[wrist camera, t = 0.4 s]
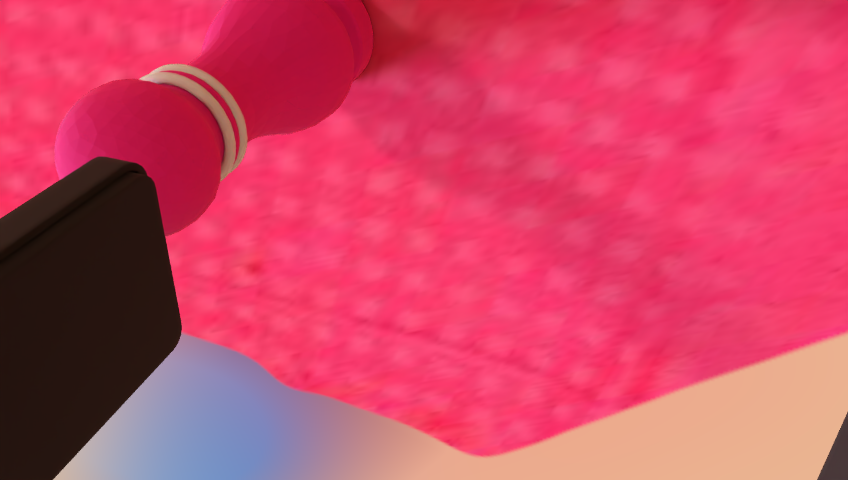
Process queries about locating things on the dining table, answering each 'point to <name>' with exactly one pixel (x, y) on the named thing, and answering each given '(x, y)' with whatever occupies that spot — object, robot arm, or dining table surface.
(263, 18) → the pepper mill
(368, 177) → the dining table surface
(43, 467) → the robot arm
